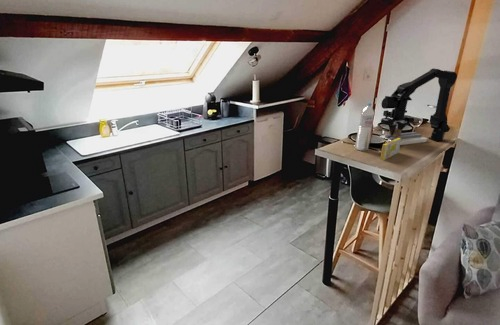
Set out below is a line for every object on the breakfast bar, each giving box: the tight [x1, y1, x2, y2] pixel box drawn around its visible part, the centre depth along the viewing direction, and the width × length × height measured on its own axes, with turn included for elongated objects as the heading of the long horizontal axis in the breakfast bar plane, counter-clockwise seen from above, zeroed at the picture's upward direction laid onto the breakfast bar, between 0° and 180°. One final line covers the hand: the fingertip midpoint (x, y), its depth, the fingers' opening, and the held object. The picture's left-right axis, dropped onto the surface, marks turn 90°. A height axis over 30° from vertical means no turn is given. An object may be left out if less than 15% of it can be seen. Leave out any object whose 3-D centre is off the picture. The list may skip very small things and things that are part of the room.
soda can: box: [369, 124, 374, 143], centre depth 166 cm, size 7×7×12 cm
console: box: [379, 131, 428, 146], centre depth 173 cm, size 24×12×4 cm, turn 108°
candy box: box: [380, 138, 401, 161], centre depth 149 cm, size 16×2×8 cm, turn 129°
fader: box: [388, 127, 403, 137], centre depth 169 cm, size 4×5×5 cm
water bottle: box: [354, 103, 376, 152], centre depth 154 cm, size 7×7×25 cm
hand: (394, 134), depth 169 cm, fingers closed on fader, 4 cm apart
